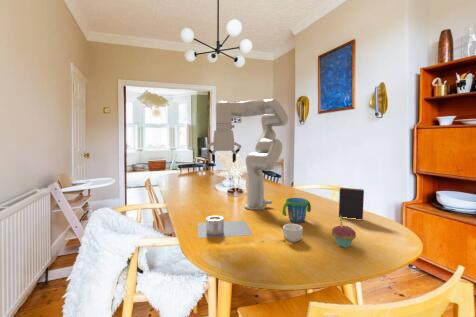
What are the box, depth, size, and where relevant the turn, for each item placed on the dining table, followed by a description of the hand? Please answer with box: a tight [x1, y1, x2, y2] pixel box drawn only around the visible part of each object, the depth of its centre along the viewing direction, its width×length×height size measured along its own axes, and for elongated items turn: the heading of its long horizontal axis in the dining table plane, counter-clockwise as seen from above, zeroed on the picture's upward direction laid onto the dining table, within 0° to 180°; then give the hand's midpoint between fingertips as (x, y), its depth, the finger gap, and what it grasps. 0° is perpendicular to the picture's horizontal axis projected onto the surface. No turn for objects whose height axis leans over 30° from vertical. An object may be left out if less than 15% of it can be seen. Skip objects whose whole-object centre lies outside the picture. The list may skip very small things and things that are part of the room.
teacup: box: [282, 223, 304, 243], centre depth 106 cm, size 10×8×5 cm
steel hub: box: [205, 215, 225, 236], centre depth 109 cm, size 7×7×6 cm
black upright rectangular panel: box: [338, 187, 365, 220], centre depth 132 cm, size 11×4×15 cm, turn 65°
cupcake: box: [331, 215, 357, 248], centre depth 100 cm, size 9×8×12 cm
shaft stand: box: [197, 218, 254, 239], centre depth 114 cm, size 22×18×7 cm
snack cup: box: [282, 197, 312, 223], centre depth 129 cm, size 16×10×10 cm
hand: (223, 162), depth 129 cm, fingers open, 9 cm apart
